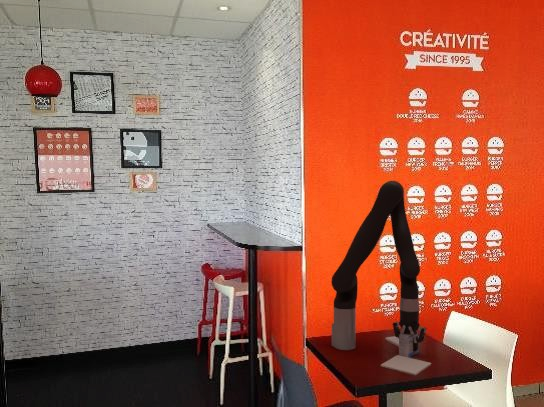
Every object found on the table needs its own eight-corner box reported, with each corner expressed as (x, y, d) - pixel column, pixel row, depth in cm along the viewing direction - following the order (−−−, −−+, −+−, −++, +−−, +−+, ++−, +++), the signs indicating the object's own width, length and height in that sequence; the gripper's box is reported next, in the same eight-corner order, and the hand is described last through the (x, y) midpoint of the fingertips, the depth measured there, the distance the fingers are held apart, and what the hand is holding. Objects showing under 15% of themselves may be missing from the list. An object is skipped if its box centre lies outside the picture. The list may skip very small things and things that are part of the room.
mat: (380, 366, 190) (380, 364, 190) (397, 356, 200) (397, 354, 200) (415, 375, 181) (415, 374, 181) (431, 364, 191) (431, 363, 191)
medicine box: (408, 358, 198) (408, 336, 198) (398, 355, 202) (398, 334, 201) (419, 353, 203) (419, 332, 203) (409, 350, 207) (409, 330, 206)
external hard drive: (401, 349, 209) (385, 340, 221) (418, 347, 212) (401, 338, 224) (401, 346, 209) (385, 337, 221) (418, 343, 212) (401, 335, 224)
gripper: (388, 307, 203) (388, 348, 204) (422, 313, 194) (421, 356, 195) (397, 303, 209) (397, 343, 210) (430, 309, 200) (429, 351, 201)
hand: (409, 349), depth 202 cm, fingers closed on medicine box, 4 cm apart
